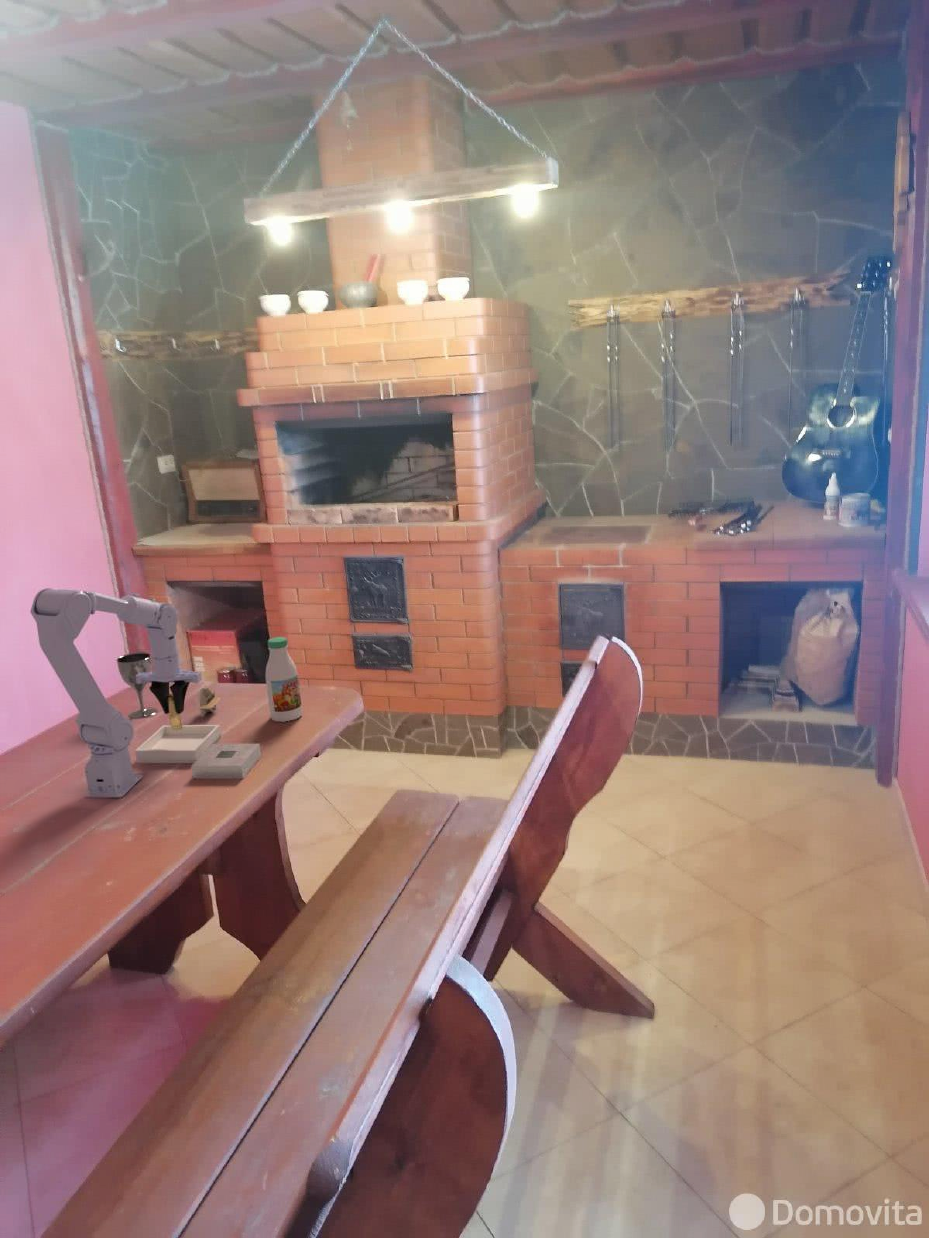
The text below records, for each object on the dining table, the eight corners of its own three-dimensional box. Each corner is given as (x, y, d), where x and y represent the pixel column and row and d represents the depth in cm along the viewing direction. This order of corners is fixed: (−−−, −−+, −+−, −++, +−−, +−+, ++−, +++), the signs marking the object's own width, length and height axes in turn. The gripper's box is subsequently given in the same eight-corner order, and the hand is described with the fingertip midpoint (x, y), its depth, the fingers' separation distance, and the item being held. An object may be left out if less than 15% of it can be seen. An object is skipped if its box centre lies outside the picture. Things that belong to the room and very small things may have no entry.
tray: (196, 762, 198) (194, 750, 197) (137, 762, 200) (134, 750, 199) (221, 736, 211) (219, 724, 210) (165, 737, 213) (163, 725, 212)
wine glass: (164, 706, 232) (155, 651, 228) (151, 718, 225) (141, 662, 221) (135, 707, 233) (125, 652, 229) (121, 719, 226) (110, 663, 221)
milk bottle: (265, 721, 218) (254, 643, 213) (280, 709, 225) (270, 633, 220) (293, 723, 216) (283, 644, 210) (308, 711, 223) (299, 634, 217)
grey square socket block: (243, 778, 189) (241, 765, 188) (193, 778, 190) (191, 765, 189) (261, 756, 199) (259, 743, 198) (213, 756, 201) (212, 743, 200)
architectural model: (222, 710, 229) (218, 682, 227) (213, 720, 222) (209, 692, 220) (209, 710, 229) (205, 683, 227) (200, 721, 223) (195, 693, 221)
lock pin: (180, 730, 203) (174, 697, 200) (170, 730, 203) (164, 697, 200) (184, 726, 205) (178, 693, 203) (173, 726, 205) (168, 693, 203)
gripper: (203, 648, 202) (211, 705, 205) (142, 649, 204) (152, 705, 208) (190, 659, 195) (199, 717, 199) (127, 660, 197) (137, 717, 201)
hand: (174, 712), depth 203 cm, fingers closed on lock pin, 2 cm apart
